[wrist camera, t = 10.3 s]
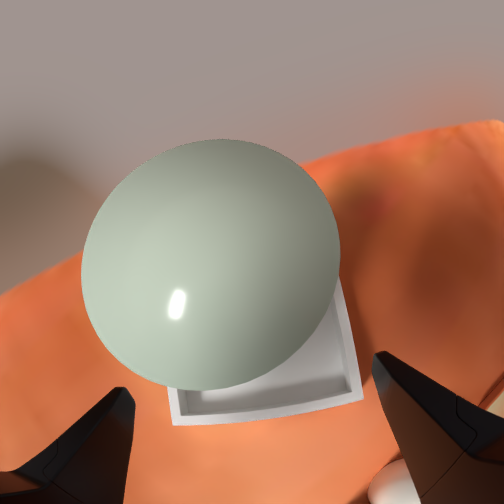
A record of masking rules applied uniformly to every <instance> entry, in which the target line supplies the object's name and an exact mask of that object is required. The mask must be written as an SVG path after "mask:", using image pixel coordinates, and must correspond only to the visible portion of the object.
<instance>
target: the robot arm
mask: <svg viewBox="0 0 504 504" xmlns="http://www.w3.org/2000/svg"><path fill="white" fill-rule="evenodd" d="M372 375H373V379H374V382H375V385H376V388H377V391H378V395H379V398H380V401H381V405H382V408H383V411H384V413H385V416H386V418H387V420H388V422H389V425H390V427H391V429H392V432H393V434H394V436H395V439H396V441H397V444H398V446H399V448H400V451H401V453H402V456H403V458H404V461H405V463H406V466H407V468H408V471H409V473H410V476H411V478H412V481H413V483H414V486H415V489H416V491H417V494H418V497H419V499H420V503H421V504H504V418H502V417H500V416H498V415H495V414H493V413H491V412H488V411H486V410H484V409H482V408H480V407H478V406H476V405H474V404H472V403H470V402H469V401H467V400H465V399H463V398H462V397H460V396H458V395H457V396H456V394H455V393H453V392H452V391H450V390H448V389H447V388H445V387H444V386H442V385H440V384H439V383H437V382H435V381H434V380H432V379H430V378H429V377H427V376H426V375H424V374H422V373H421V372H419V371H417V370H416V369H414V368H413V367H411V366H409V365H408V364H406V363H404V362H403V361H401V360H400V359H398V358H396V357H395V356H393V355H392V354H390V353H388V352H387V351H381V352H378V353H375V354H374V356H373V364H372ZM135 407H136V405H135V401H134V399H133V398H132V396H131V394H130V393H129V391H128V390H127V389H126V388H125V387H115V388H113V389H112V390H111V391H110V392H109V393H108V394H107V395H106V396H105V397H103V398H102V399H101V400H100V401H99V402H98V403H97V404H96V405H94V406H93V407H92V408H91V409H90V410H89V411H88V412H87V413H85V414H84V415H83V416H82V417H81V418H80V419H79V420H78V421H76V422H75V423H74V424H73V425H72V426H71V427H70V428H69V429H67V430H66V431H65V432H64V433H63V434H62V435H61V436H60V437H58V439H56V440H55V441H54V442H53V443H52V444H50V445H49V446H48V447H47V448H46V449H44V450H43V451H42V452H40V453H39V454H38V455H36V456H35V457H34V458H32V459H31V460H29V461H28V462H27V463H25V464H24V465H22V466H21V467H19V468H18V469H16V470H13V471H7V472H0V504H123V500H124V492H125V485H126V478H127V471H128V465H129V459H130V453H131V447H132V441H133V432H134V419H135Z"/></svg>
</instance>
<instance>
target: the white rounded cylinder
mask: <svg viewBox="0 0 504 504" xmlns="http://www.w3.org/2000/svg"><path fill="white" fill-rule="evenodd" d="M368 499H369V502H370V503H371V504H421V503H420V499H419V497H418V494H417V491H416V489H415V486H414V483H413V481H412V478H411V476H410V473H409V471H408V468H407V466H406V463H405V461H404V458H403V459H399V460H396V461H393V462H391V463H390V464H388V465H386V466H385V467H383V468H382V469H381V470H380V471H379V472H378V473H377V474H376V475H375V476H374V478H373V479H372V481H371V483H370V485H369V488H368Z"/></svg>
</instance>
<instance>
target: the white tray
mask: <svg viewBox="0 0 504 504" xmlns="http://www.w3.org/2000/svg"><path fill="white" fill-rule="evenodd" d="M167 389H168V396H169V404H170V410H171V417H172V423H173V425H210V424H226V423H238V422H248V421H257V420H265V419H272V418H279V417H285V416H291V415H297V414H302V413H307V412H312V411H317V410H322V409H326V408H331V407H335V406H339V405H343V404H347V403H351V402H355V401H358V400H362V399H364V397H363V391H362V385H361V379H360V373H359V367H358V362H357V356H356V351H355V346H354V341H353V336H352V331H351V326H350V321H349V317H348V312H347V308H346V303H345V299H344V295H343V291H342V287H341V282H340V278H339V276H338V280H337V284H336V288H335V291H334V295H333V297H332V300H331V302H330V304H329V307H328V309H327V311H326V314H325V315H324V317H323V318H322V320H321V322H320V323H319V325H318V327H317V328H316V330H315V331H314V333H313V334H312V335H311V336H310V337H309V339H308V340H307V341H306V342H305V343H304V344H303V346H302V347H301V348H300V349H299V350H297V351H296V352H295V353H294V354H293V355H292V356H291V357H290V358H288V359H287V360H286V361H285V362H284V363H282V364H280V365H279V366H277V367H276V368H274V369H273V370H271V371H270V372H268V373H267V374H264V375H262V376H260V377H258V378H256V379H253V380H251V381H249V382H247V383H243V384H240V385H236V386H233V387H229V388H224V389H216V390H208V391H196V390H182V389H177V388H171V387H167Z"/></svg>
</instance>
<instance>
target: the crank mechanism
mask: <svg viewBox="0 0 504 504" xmlns="http://www.w3.org/2000/svg"><path fill="white" fill-rule="evenodd" d="M478 407H480V408H482V409H484V410H486V411H488V412H491V413H493V414H495V415H498V416H500V417H502V418H504V378H503V379H502V381H501V382H500V383H499V384H498V385H497V386H496V388H495V389H494V390H493V391H492V392H491V393H490V394H489V395H488V396H487V397H486V398H485V399H484V401H483V402H482V403H481V404H480V405H479V406H478Z"/></svg>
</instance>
